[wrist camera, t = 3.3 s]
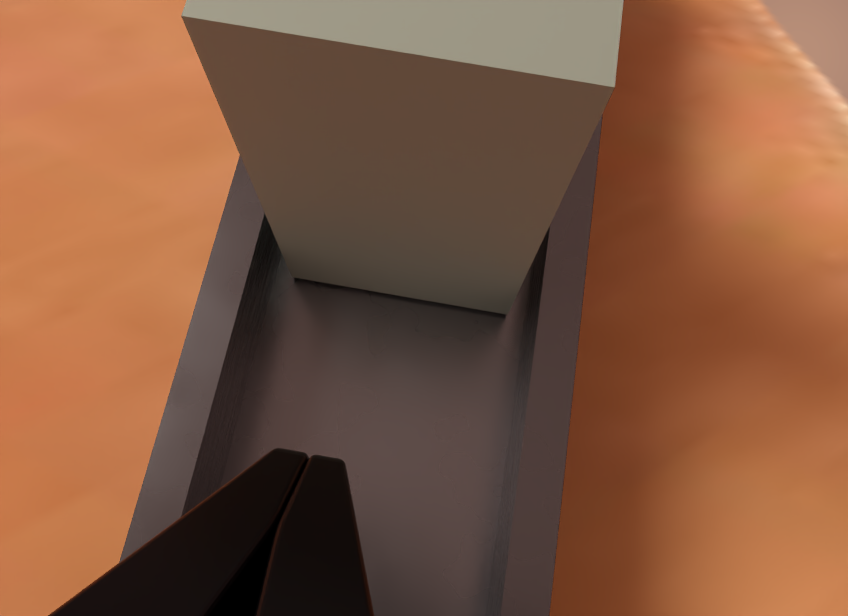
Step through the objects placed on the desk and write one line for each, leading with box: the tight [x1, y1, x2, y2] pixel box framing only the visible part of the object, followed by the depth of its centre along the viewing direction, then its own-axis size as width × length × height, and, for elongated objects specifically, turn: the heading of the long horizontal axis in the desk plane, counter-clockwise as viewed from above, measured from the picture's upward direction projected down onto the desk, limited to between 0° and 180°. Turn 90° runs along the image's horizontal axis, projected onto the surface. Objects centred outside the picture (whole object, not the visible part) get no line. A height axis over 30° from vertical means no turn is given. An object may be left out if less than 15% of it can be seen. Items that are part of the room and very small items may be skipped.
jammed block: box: [181, 0, 624, 315], centre depth 15 cm, size 5×6×10 cm
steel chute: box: [119, 113, 603, 616], centre depth 19 cm, size 24×10×4 cm, turn 170°
